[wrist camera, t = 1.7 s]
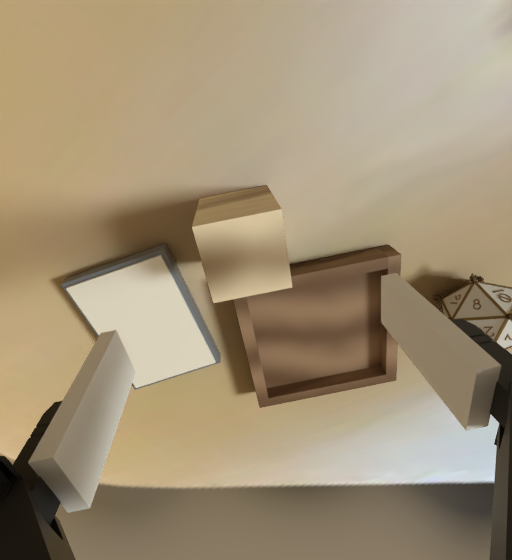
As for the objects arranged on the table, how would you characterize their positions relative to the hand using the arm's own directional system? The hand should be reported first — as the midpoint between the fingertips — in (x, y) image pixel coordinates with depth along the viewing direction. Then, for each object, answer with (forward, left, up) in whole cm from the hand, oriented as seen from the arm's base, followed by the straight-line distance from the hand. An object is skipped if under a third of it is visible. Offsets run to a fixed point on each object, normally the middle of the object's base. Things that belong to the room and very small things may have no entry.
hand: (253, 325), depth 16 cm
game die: (+13, +22, -16) cm, 30 cm away
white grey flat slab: (+8, -11, -16) cm, 20 cm away
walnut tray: (+13, +6, -16) cm, 21 cm away
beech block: (0, 0, -16) cm, 16 cm away
